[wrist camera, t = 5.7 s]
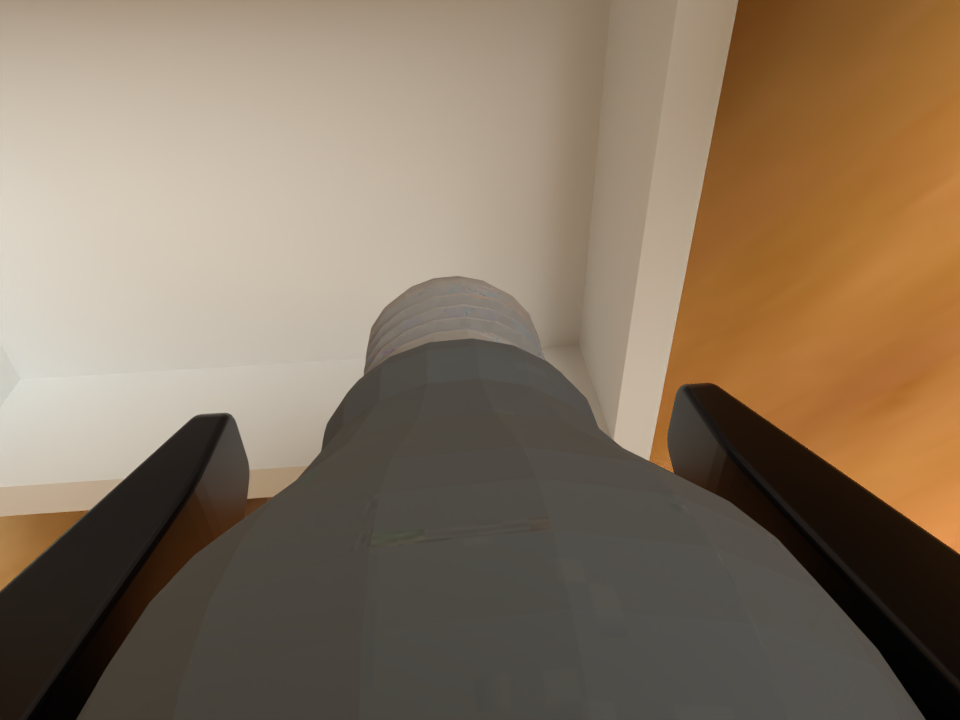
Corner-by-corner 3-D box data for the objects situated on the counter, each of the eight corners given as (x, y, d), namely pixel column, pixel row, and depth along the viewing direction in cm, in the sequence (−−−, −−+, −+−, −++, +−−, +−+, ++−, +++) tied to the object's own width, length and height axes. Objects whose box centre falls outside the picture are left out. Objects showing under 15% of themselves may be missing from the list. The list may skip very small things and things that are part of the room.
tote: (673, -236, 13) (791, -273, 9) (602, 354, 21) (647, 469, 17) (-333, -224, 12) (-710, -261, 8) (12, 390, 20) (-84, 522, 16)
